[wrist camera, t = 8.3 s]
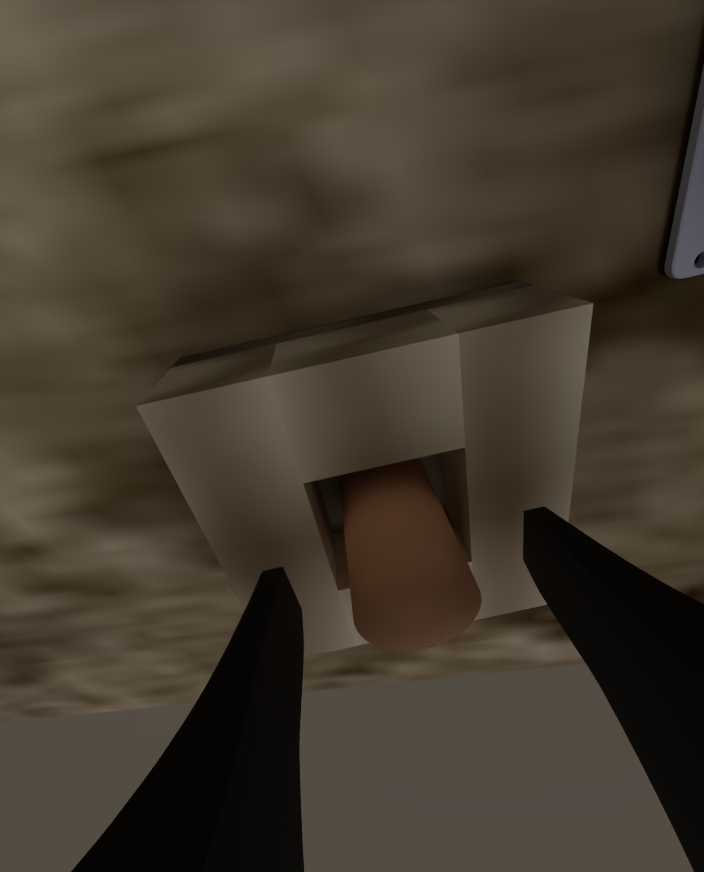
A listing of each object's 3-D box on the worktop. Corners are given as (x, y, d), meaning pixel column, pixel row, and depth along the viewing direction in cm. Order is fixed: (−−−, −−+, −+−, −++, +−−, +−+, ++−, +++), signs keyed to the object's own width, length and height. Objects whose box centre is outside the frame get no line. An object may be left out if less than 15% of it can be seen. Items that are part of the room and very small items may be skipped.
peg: (442, 464, 15) (507, 589, 10) (394, 524, 17) (431, 661, 12) (368, 428, 14) (400, 547, 9) (323, 495, 16) (329, 633, 11)
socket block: (518, 281, 13) (593, 303, 10) (513, 532, 19) (559, 601, 16) (180, 358, 13) (135, 406, 10) (279, 584, 19) (273, 663, 16)
